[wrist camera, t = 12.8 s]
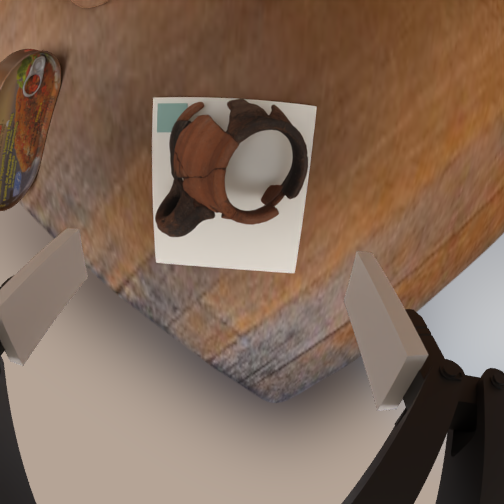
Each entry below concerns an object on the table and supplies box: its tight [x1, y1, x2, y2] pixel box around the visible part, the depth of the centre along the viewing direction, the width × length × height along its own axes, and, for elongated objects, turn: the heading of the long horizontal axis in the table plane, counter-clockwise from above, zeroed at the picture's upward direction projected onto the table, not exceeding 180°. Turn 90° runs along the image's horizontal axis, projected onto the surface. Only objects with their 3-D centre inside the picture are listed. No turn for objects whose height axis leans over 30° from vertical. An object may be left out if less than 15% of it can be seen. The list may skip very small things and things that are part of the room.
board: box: [152, 97, 317, 273], centre depth 27 cm, size 13×15×2 cm
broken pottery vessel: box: [155, 99, 308, 237], centre depth 23 cm, size 12×10×8 cm
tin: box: [0, 49, 61, 211], centre depth 21 cm, size 15×3×8 cm, turn 154°
